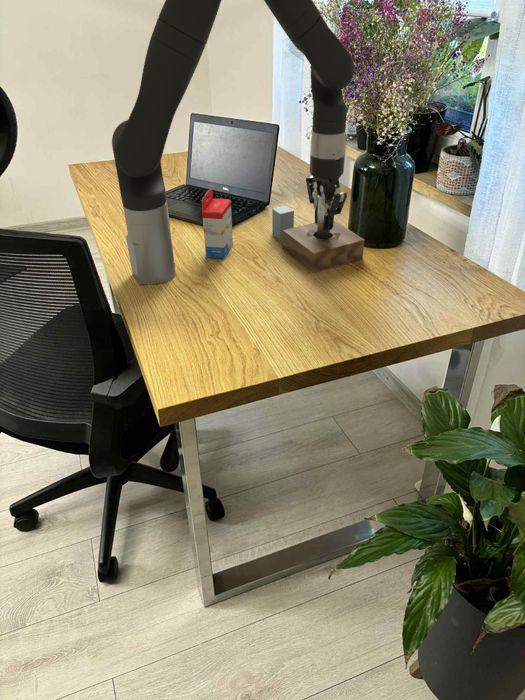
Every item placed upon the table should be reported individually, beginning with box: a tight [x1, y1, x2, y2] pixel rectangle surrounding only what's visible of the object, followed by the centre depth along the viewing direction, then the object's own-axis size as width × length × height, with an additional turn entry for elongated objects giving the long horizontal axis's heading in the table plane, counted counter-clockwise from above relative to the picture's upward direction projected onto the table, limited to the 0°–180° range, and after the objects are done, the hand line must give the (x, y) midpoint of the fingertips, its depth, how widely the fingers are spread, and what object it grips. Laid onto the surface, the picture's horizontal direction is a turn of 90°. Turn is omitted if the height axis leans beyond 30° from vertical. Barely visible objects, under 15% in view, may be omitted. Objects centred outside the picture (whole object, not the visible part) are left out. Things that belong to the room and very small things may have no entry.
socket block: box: [282, 220, 365, 274], centre depth 131 cm, size 14×14×5 cm
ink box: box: [201, 186, 234, 259], centre depth 130 cm, size 8×5×15 cm, turn 168°
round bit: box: [317, 196, 332, 239], centre depth 127 cm, size 3×3×10 cm
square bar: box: [271, 205, 295, 241], centre depth 139 cm, size 4×4×7 cm
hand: (323, 226), depth 128 cm, fingers closed on round bit, 3 cm apart
